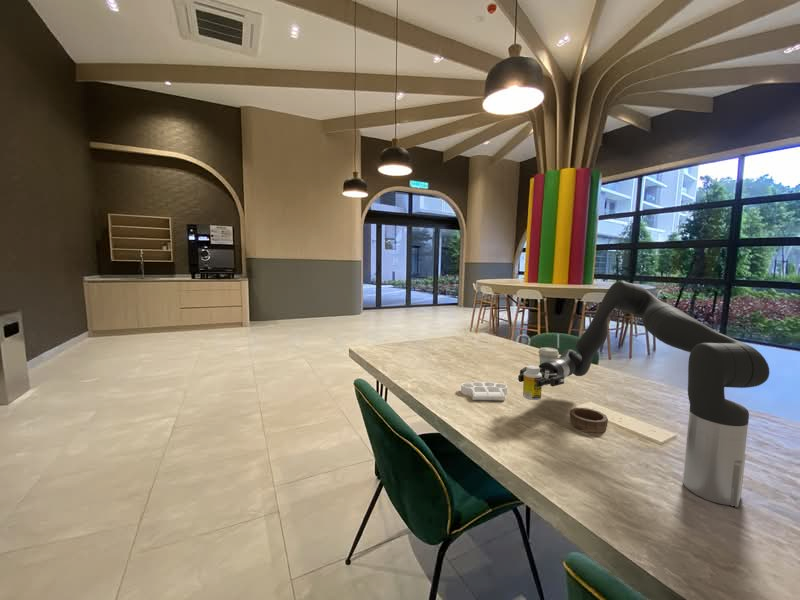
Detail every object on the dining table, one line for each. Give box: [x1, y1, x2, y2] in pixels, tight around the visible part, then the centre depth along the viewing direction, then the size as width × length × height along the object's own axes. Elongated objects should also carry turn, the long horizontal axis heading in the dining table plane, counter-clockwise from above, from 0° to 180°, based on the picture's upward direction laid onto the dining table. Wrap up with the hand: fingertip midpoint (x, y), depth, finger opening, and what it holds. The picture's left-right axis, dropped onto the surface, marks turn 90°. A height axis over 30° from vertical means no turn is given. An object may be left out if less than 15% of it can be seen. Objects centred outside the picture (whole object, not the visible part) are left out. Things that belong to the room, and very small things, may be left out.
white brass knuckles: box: [460, 381, 509, 402], centre depth 130 cm, size 3×18×15 cm
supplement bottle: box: [522, 364, 543, 401], centre depth 108 cm, size 6×6×10 cm
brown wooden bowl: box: [569, 407, 609, 434], centre depth 104 cm, size 10×10×4 cm
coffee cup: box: [538, 346, 560, 365], centre depth 152 cm, size 8×9×12 cm
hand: (528, 381), depth 106 cm, fingers closed on supplement bottle, 5 cm apart
